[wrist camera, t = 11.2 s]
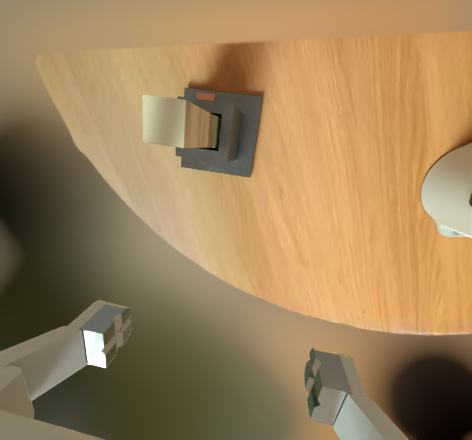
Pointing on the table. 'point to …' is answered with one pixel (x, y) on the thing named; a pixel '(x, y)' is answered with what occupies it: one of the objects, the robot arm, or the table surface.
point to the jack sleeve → (225, 132)
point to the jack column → (179, 123)
